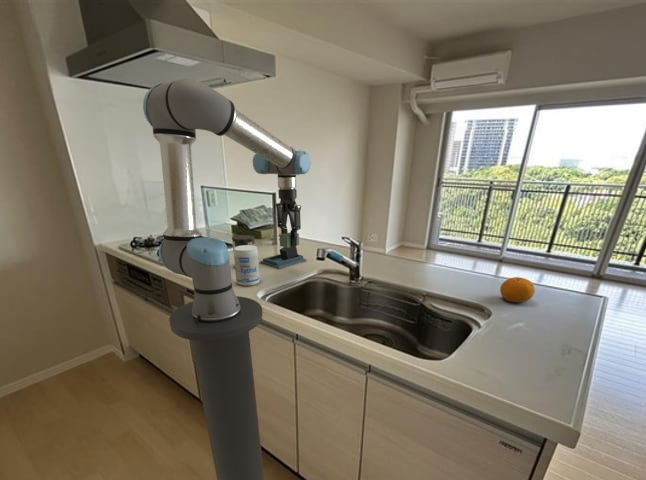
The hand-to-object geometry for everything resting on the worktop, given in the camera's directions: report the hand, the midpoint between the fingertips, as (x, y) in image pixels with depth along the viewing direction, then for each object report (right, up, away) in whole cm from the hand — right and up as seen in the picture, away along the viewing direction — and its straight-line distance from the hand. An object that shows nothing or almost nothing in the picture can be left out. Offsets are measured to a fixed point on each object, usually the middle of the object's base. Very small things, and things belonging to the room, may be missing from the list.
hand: (289, 244), depth 148 cm
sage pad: (0, 0, 0) cm, 0 cm away
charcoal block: (-1, -2, +21) cm, 21 cm away
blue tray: (-4, -5, +19) cm, 20 cm away
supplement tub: (-17, -18, -8) cm, 25 cm away
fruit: (+82, -26, -28) cm, 91 cm away
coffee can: (-22, -8, +13) cm, 27 cm away
